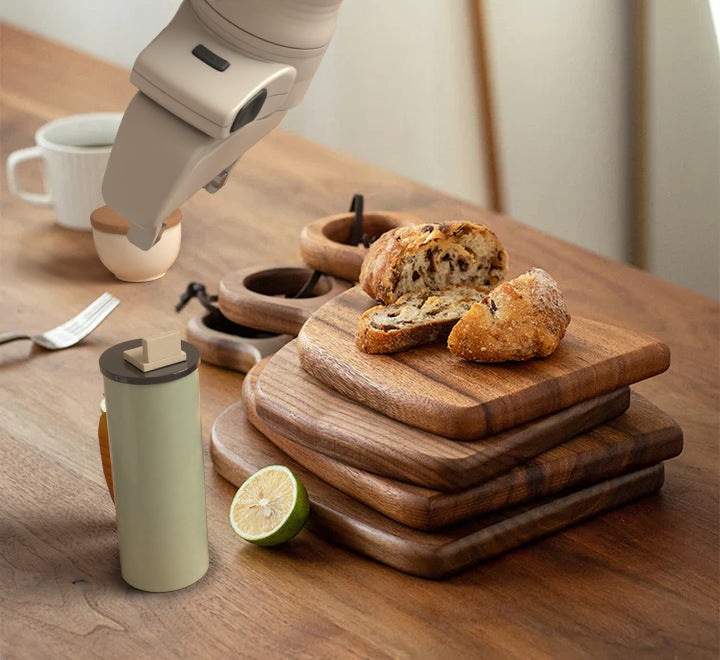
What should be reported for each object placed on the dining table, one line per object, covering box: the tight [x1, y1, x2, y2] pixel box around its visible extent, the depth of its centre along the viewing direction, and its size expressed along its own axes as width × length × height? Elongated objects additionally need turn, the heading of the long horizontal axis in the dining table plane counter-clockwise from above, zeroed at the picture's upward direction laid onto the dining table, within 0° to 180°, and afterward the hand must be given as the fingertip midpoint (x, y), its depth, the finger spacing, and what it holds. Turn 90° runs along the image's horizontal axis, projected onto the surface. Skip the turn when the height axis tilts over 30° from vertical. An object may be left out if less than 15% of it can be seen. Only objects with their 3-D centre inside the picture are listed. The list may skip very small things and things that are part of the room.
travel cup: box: [98, 337, 210, 593], centre depth 85 cm, size 8×8×19 cm
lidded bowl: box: [89, 204, 183, 283], centre depth 153 cm, size 13×13×11 cm
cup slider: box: [123, 328, 186, 372], centre depth 81 cm, size 4×3×2 cm
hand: (176, 212), depth 74 cm, fingers open, 8 cm apart
